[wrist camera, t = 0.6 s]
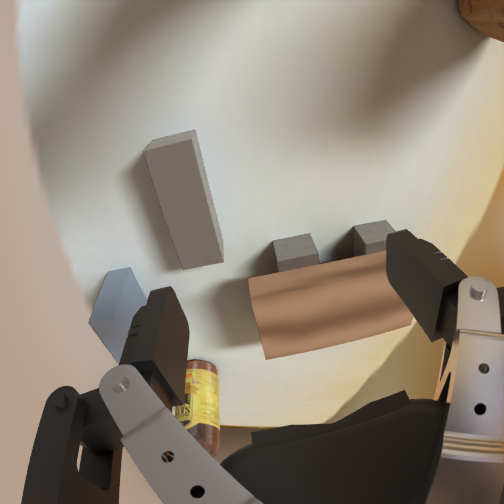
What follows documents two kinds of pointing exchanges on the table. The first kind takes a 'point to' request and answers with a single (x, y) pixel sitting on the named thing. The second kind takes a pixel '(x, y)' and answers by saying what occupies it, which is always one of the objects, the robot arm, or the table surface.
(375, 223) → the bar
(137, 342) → the robot arm
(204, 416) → the sauce bottle
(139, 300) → the stop block
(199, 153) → the bar loose
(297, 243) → the bar middle
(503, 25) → the block
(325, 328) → the slab
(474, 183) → the table surface
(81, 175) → the table surface
